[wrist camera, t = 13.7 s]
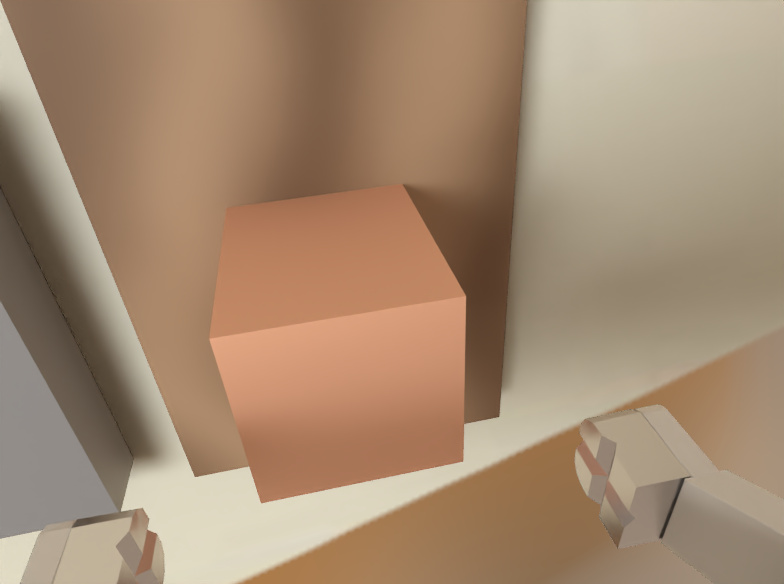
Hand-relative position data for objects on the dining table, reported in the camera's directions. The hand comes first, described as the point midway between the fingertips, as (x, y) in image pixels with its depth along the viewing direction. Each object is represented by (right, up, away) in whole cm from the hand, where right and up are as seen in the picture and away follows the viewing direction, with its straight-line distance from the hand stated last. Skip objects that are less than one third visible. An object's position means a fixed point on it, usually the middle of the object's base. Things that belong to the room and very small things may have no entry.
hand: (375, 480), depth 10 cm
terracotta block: (-2, +4, +7) cm, 8 cm away
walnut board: (-2, +5, +8) cm, 10 cm away
